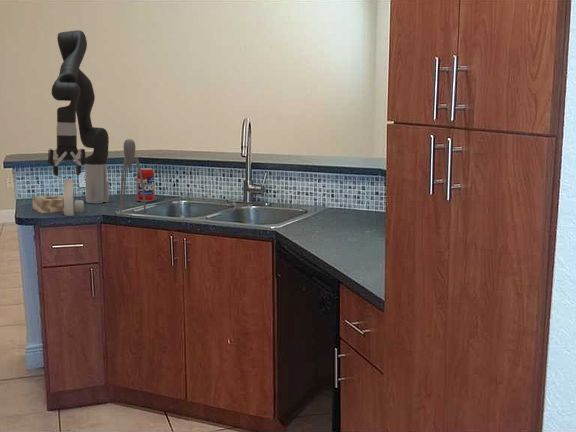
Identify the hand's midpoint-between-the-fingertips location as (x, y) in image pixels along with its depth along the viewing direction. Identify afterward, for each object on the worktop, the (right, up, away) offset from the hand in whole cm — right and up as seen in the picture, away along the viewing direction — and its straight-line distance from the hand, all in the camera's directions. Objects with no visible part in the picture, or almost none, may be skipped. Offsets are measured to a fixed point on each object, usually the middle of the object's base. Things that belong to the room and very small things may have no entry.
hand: (67, 175), depth 283 cm
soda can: (+22, -9, +45) cm, 51 cm away
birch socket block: (-11, -14, +14) cm, 22 cm away
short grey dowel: (+1, -14, +12) cm, 18 cm away
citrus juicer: (+20, -14, +15) cm, 29 cm away
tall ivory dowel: (0, -16, +3) cm, 16 cm away
